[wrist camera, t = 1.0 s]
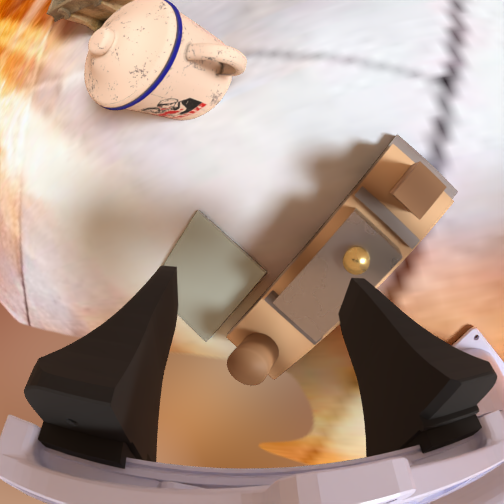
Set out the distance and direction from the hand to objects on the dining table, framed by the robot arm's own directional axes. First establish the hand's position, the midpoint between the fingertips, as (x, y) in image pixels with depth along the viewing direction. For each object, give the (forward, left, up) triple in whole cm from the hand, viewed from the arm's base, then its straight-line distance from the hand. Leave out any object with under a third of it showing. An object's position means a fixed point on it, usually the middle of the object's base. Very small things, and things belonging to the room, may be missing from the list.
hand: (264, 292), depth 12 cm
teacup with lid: (+16, -5, -12) cm, 21 cm away
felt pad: (+5, +10, -12) cm, 17 cm away
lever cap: (-3, 0, -10) cm, 10 cm away
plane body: (-3, +1, -12) cm, 13 cm away
